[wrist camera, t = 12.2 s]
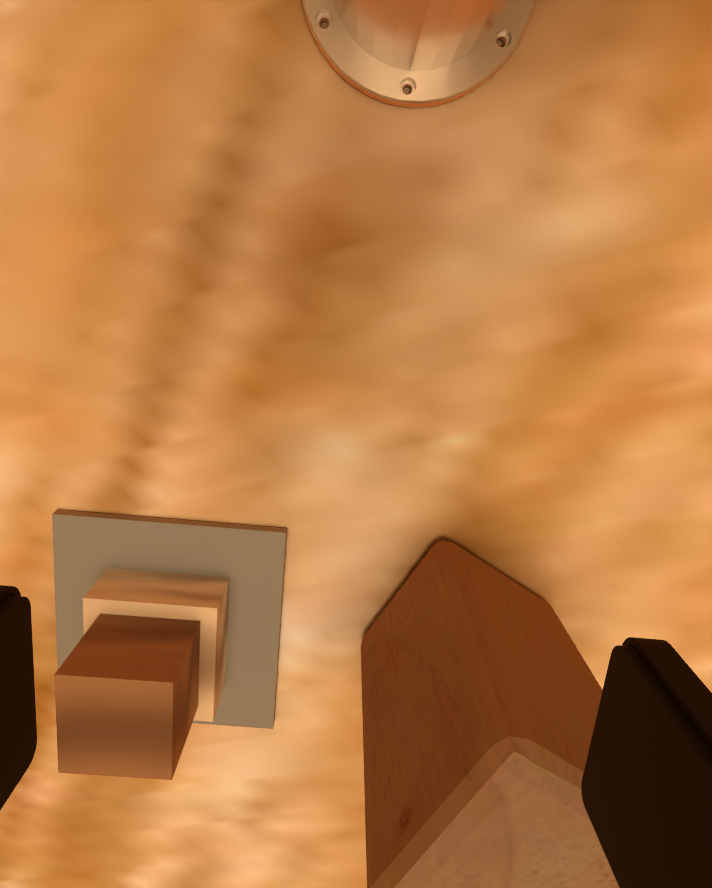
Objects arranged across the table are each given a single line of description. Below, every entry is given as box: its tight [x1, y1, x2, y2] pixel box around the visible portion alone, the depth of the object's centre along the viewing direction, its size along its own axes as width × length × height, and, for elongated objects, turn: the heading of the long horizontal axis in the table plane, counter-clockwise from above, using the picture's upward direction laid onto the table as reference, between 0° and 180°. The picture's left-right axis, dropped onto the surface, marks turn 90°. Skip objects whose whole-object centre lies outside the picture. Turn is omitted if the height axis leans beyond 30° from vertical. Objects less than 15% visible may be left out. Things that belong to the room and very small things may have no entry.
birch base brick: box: [83, 568, 230, 722], centre depth 41 cm, size 8×8×4 cm
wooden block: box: [361, 540, 619, 888], centre depth 34 cm, size 10×10×20 cm
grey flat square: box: [52, 510, 287, 729], centre depth 43 cm, size 15×15×1 cm
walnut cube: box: [54, 614, 200, 780], centre depth 36 cm, size 6×6×6 cm
